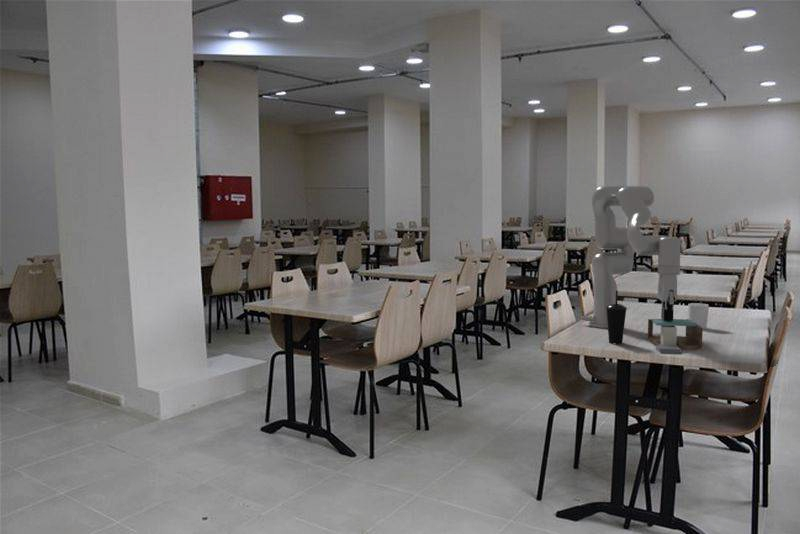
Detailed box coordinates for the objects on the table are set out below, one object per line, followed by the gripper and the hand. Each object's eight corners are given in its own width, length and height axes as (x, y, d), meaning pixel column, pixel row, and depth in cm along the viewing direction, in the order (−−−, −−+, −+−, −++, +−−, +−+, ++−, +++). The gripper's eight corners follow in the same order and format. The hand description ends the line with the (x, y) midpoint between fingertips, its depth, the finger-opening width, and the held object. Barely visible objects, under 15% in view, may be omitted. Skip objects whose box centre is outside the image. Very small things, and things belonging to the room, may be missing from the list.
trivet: (659, 352, 234) (659, 348, 234) (655, 349, 240) (656, 345, 240) (680, 353, 233) (680, 349, 233) (676, 349, 239) (676, 345, 239)
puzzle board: (658, 348, 241) (658, 326, 240) (647, 338, 258) (648, 318, 258) (701, 349, 238) (702, 327, 238) (688, 339, 256) (688, 319, 255)
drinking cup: (609, 339, 257) (610, 288, 255) (629, 342, 252) (630, 290, 250) (601, 343, 251) (602, 290, 249) (621, 345, 246) (622, 292, 244)
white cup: (710, 330, 275) (710, 306, 274) (689, 329, 277) (690, 305, 276) (705, 326, 283) (706, 303, 282) (685, 326, 285) (686, 302, 284)
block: (663, 347, 242) (663, 327, 242) (660, 345, 247) (660, 325, 246) (676, 348, 242) (676, 327, 241) (673, 345, 246) (673, 325, 246)
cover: (656, 325, 243) (657, 309, 242) (651, 321, 251) (652, 305, 251) (696, 326, 241) (697, 309, 240) (690, 322, 249) (690, 306, 248)
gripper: (653, 268, 253) (651, 315, 255) (663, 272, 237) (661, 323, 239) (673, 268, 252) (672, 316, 254) (685, 272, 236) (683, 323, 238)
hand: (667, 319), depth 246 cm, fingers closed on cover, 3 cm apart
